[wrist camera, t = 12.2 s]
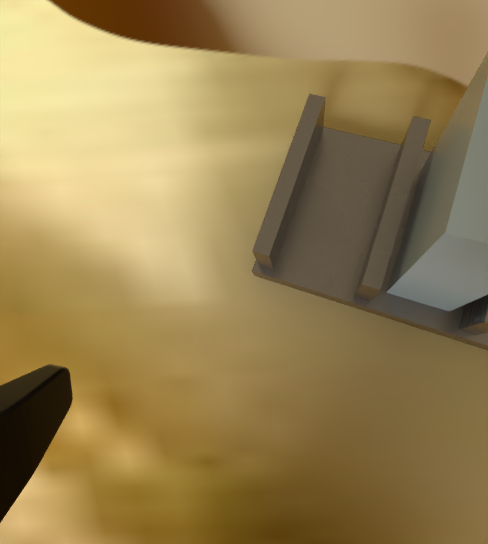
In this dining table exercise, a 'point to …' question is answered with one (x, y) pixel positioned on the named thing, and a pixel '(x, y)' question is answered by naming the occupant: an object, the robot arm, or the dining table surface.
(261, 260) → the dish rack
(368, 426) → the dining table surface
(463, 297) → the tall grey-blue box
